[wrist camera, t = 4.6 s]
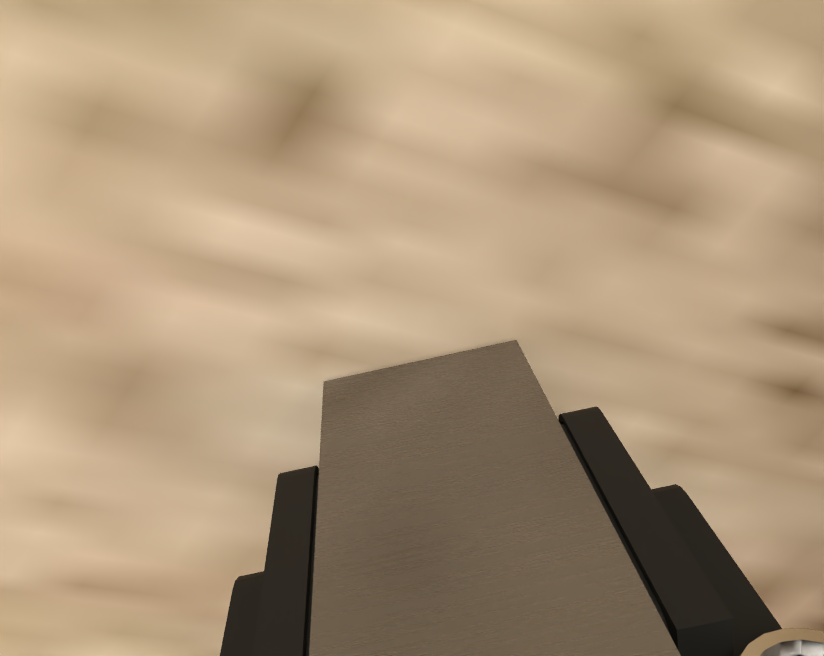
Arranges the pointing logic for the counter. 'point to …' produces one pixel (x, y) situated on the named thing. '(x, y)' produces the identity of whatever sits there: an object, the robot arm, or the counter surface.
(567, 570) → the square peg
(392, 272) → the counter surface
